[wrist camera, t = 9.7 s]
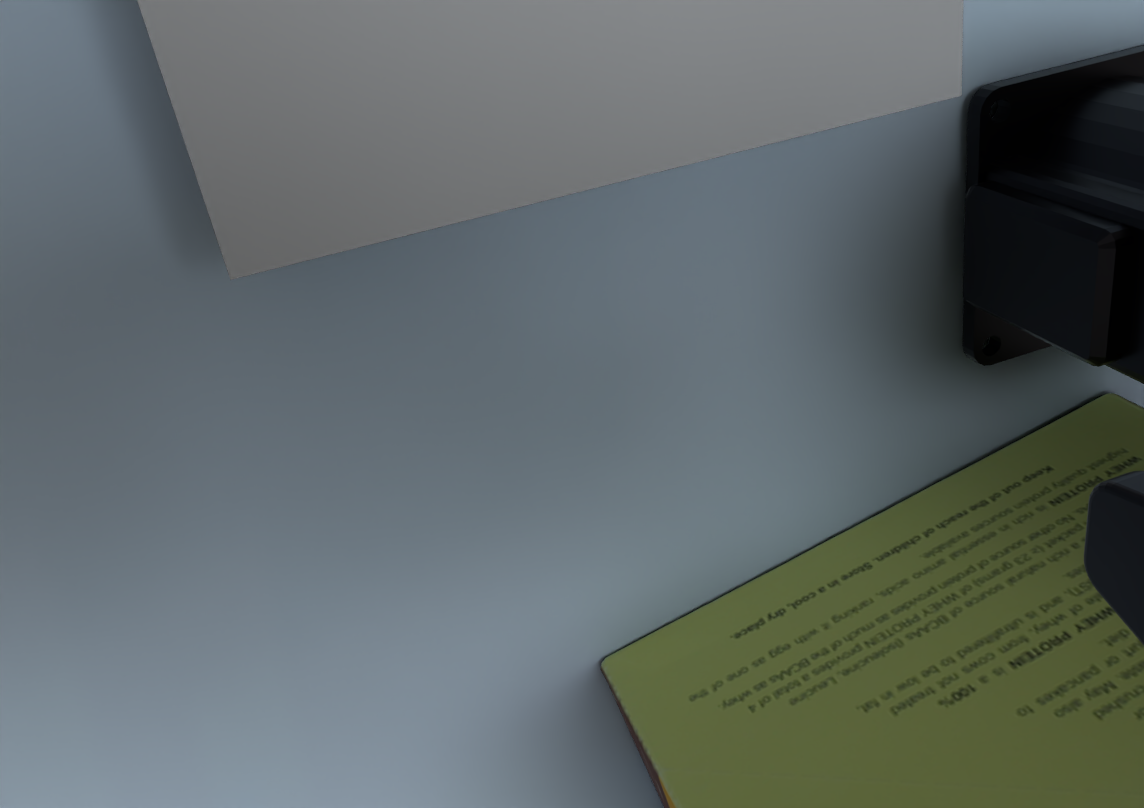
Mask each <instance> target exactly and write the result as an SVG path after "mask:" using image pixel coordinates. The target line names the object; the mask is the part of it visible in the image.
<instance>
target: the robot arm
mask: <svg viewBox="0 0 1144 808" xmlns="http://www.w3.org/2000/svg"><path fill="white" fill-rule="evenodd" d="M996 101H998V109H997V112H996V113H995V115H994V116H993V117H992V118H991V117H990V111H991V107H992V106H993V104H994V103H995V102H996ZM963 297H964V309H963V350H964V353H965V354H966V356H967V357H968V358H970V359H972V360H973V361H975V362H977V363H979V364H981V365H984V366H985V365H992V364H995V363H998V362H1002V361H1005V360H1008V359H1011V358H1014V357H1017V356H1021V355H1024V354H1027V353H1030V352H1033V351H1036V350H1040V349H1043V348H1046V347H1049V346H1052V345H1053V346H1055V347H1057V348H1059V349H1061V350H1063V351H1065V352H1067V353H1069V354H1071V355H1073V356H1075V357H1077V358H1079V359H1081V360H1083V361H1085V362H1087V363H1089V364H1091V365H1093V366H1098V367H1099V366H1102V365H1106V366H1108V367H1110V368H1113V369H1115V370H1117V371H1119V372H1121V373H1123V374H1125V375H1127V376H1129V377H1131V378H1133V379H1135V380H1137V381H1139V382H1141V383H1143V384H1144V45H1143V46H1139V47H1135V48H1131V49H1127V50H1123V51H1119V52H1115V53H1111V54H1107V55H1103V56H1099V57H1095V58H1091V59H1087V60H1083V61H1079V62H1075V63H1071V64H1067V65H1063V66H1059V67H1055V68H1051V69H1047V70H1043V71H1039V72H1035V73H1031V74H1027V75H1023V76H1019V77H1015V78H1011V79H1008V80H1004V81H1000V82H996V83H992V84H988V85H986V86H984V87H982V88H980V89H979V90H978V91H977V92H976V93H975V94H974V96H973V98H972V100H971V102H970V104H969V109H968V127H967V172H966V198H965V228H964V274H963ZM989 337H990V339H989V343H988V344H987V345H986V346H985V347H984V348H983V344H984V343H985V341H986V340H987V339H988V338H989ZM982 348H983V349H982ZM1084 566H1085V570H1086V573H1087V575H1088V578H1089V579H1090V581H1091V583H1092V585H1093V586H1094V587H1095V589H1096V590H1097V591H1098V592H1099V594H1100V595H1101V596H1102V597H1103V598H1104V600H1105V601H1106V602H1107V603H1108V604H1109V605H1110V607H1111V608H1112V609H1113V610H1114V611H1115V612H1116V614H1117V615H1118V616H1119V617H1120V618H1121V619H1122V621H1123V622H1124V623H1125V624H1126V625H1127V627H1128V628H1129V629H1130V630H1131V631H1132V632H1133V634H1134V635H1135V636H1136V637H1137V638H1138V639H1139V641H1140V642H1141V643H1142V644H1143V645H1144V471H1132V472H1128V473H1125V474H1123V475H1120V476H1117V477H1114V478H1111V479H1108V480H1106V481H1103V482H1101V483H1099V484H1098V485H1096V486H1095V487H1094V489H1093V490H1092V492H1091V494H1090V497H1089V502H1088V513H1087V524H1086V535H1085V546H1084Z"/></svg>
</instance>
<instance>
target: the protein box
mask: <svg viewBox="0 0 1144 808" xmlns="http://www.w3.org/2000/svg"><path fill="white" fill-rule="evenodd" d="M1132 471H1144V408H1143V407H1141V406H1139V405H1137V404H1135V403H1132V402H1130V401H1128V400H1126V399H1125V398H1123V397H1121V396H1119V395H1116V394H1114V393H1108V394H1105V395H1103V396H1101V397H1099V398H1097V399H1096V400H1094V401H1092V402H1090V403H1088V404H1086V405H1084V406H1082V407H1081V408H1079V409H1077V410H1075V411H1073V412H1071V413H1069V414H1068V415H1066V416H1064V417H1062V418H1060V419H1058V420H1056V421H1055V422H1053V423H1051V424H1049V425H1047V426H1045V427H1043V428H1041V429H1039V430H1037V431H1036V432H1034V433H1032V434H1030V435H1028V436H1026V437H1024V438H1022V439H1020V440H1018V441H1016V442H1014V443H1012V444H1010V445H1009V446H1007V447H1005V448H1003V449H1001V450H999V451H998V452H996V453H994V454H992V455H990V456H988V457H986V458H984V459H982V460H980V461H978V462H977V463H975V464H973V465H971V466H969V467H967V468H965V469H963V470H961V471H959V472H957V473H955V474H954V475H952V476H950V477H948V478H946V479H944V480H942V481H940V482H938V483H936V484H934V485H933V486H931V487H929V488H927V489H925V490H923V491H921V492H919V493H917V494H916V495H914V496H912V497H910V498H908V499H906V500H904V501H902V502H900V503H899V504H897V505H895V506H893V507H891V508H889V509H887V510H886V511H884V512H882V513H880V514H878V515H876V516H874V517H872V518H870V519H868V520H866V521H864V522H862V523H860V524H858V525H856V526H855V527H853V528H851V529H849V530H847V531H845V532H843V533H841V534H839V535H837V536H836V537H834V538H832V539H830V540H828V541H826V542H824V543H822V544H820V545H818V546H816V547H815V548H813V549H811V550H809V551H807V552H805V553H804V554H802V555H800V556H798V557H796V558H794V559H792V560H791V561H789V562H787V563H785V564H783V565H781V566H779V567H777V568H775V569H773V570H772V571H770V572H768V573H766V574H764V575H762V576H760V577H758V578H756V579H754V580H752V581H750V582H749V583H747V584H745V585H743V586H741V587H739V588H737V589H735V590H733V591H732V592H730V593H728V594H726V595H724V596H722V597H720V598H718V599H717V600H715V601H713V602H711V603H709V604H707V605H705V606H703V607H701V608H699V609H697V610H695V611H694V612H692V613H690V614H688V615H686V616H684V617H682V618H680V619H678V620H676V621H674V622H672V623H670V624H668V625H667V626H665V627H663V628H661V629H659V630H657V631H655V632H653V633H651V634H650V635H648V636H646V637H644V638H642V639H640V640H638V641H636V642H635V643H633V644H631V645H629V646H627V647H625V648H623V649H621V650H619V651H617V652H616V653H614V654H612V655H610V656H608V657H606V658H605V659H604V661H603V662H602V664H601V671H602V673H603V675H604V677H605V679H606V680H607V682H608V684H609V687H610V689H611V691H612V693H613V696H614V698H615V700H616V702H617V705H618V707H619V709H620V711H621V713H622V715H623V718H624V720H625V722H626V724H627V727H628V729H629V731H630V733H631V736H632V738H633V740H634V742H635V745H636V747H637V749H638V751H639V753H640V755H641V758H642V760H643V762H644V764H645V766H646V768H647V771H648V773H649V775H650V777H651V779H652V782H653V784H654V786H655V788H656V791H657V793H658V795H659V797H660V800H661V802H662V804H663V806H664V808H1144V645H1143V644H1142V643H1141V642H1140V641H1139V639H1138V638H1137V637H1136V636H1135V635H1134V634H1133V632H1132V631H1131V630H1130V629H1129V628H1128V627H1127V625H1126V624H1125V623H1124V622H1123V621H1122V619H1121V618H1120V617H1119V616H1118V615H1117V614H1116V612H1115V611H1114V610H1113V609H1112V608H1111V607H1110V605H1109V604H1108V603H1107V602H1106V601H1105V600H1104V598H1103V597H1102V596H1101V595H1100V594H1099V592H1098V591H1097V590H1096V589H1095V587H1094V586H1093V585H1092V583H1091V581H1090V579H1089V578H1088V575H1087V573H1086V570H1085V566H1084V546H1085V535H1086V524H1087V513H1088V502H1089V497H1090V494H1091V492H1092V490H1093V489H1094V487H1095V486H1096V485H1098V484H1099V483H1101V482H1103V481H1106V480H1108V479H1111V478H1114V477H1117V476H1120V475H1123V474H1125V473H1128V472H1132Z"/></svg>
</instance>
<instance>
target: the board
mask: <svg viewBox="0 0 1144 808" xmlns="http://www.w3.org/2000/svg"><path fill="white" fill-rule="evenodd" d="M137 1H138V4H139V7H140V10H141V13H142V16H143V19H144V22H145V25H146V28H147V31H148V34H149V37H150V40H151V43H152V46H153V49H154V52H155V55H156V58H157V61H158V64H159V67H160V70H161V73H162V76H163V79H164V82H165V85H166V88H167V91H168V94H169V97H170V100H171V103H172V106H173V109H174V112H175V115H176V118H177V121H178V124H179V127H180V130H181V133H182V136H183V139H184V142H185V145H186V148H187V151H188V154H189V157H190V160H191V163H192V166H193V169H194V172H195V175H196V178H197V181H198V184H199V187H200V190H201V193H202V196H203V199H204V202H205V205H206V208H207V211H208V214H209V217H210V220H211V223H212V226H213V229H214V232H215V235H216V238H217V241H218V244H219V247H220V250H221V253H222V256H223V259H224V262H225V265H226V268H227V271H228V274H229V277H230V280H232V279H236V278H240V277H244V276H248V275H252V274H256V273H260V272H264V271H268V270H272V269H276V268H280V267H284V266H288V265H292V264H296V263H300V262H304V261H308V260H312V259H316V258H320V257H324V256H328V255H332V254H336V253H340V252H344V251H348V250H351V249H355V248H359V247H363V246H367V245H371V244H375V243H379V242H383V241H387V240H391V239H395V238H399V237H403V236H407V235H411V234H415V233H419V232H423V231H427V230H431V229H435V228H439V227H443V226H447V225H451V224H455V223H459V222H463V221H467V220H471V219H475V218H479V217H483V216H487V215H491V214H494V213H498V212H502V211H506V210H510V209H514V208H518V207H522V206H526V205H530V204H534V203H538V202H542V201H546V200H550V199H554V198H558V197H562V196H566V195H570V194H574V193H578V192H582V191H586V190H590V189H594V188H598V187H602V186H606V185H610V184H614V183H618V182H622V181H626V180H630V179H634V178H637V177H641V176H645V175H649V174H653V173H657V172H661V171H665V170H669V169H673V168H677V167H681V166H685V165H689V164H693V163H697V162H701V161H705V160H709V159H713V158H717V157H721V156H725V155H729V154H733V153H737V152H741V151H745V150H749V149H753V148H757V147H761V146H765V145H769V144H773V143H777V142H780V141H784V140H788V139H792V138H796V137H800V136H804V135H808V134H812V133H816V132H820V131H824V130H828V129H832V128H836V127H840V126H844V125H848V124H852V123H856V122H860V121H864V120H868V119H872V118H876V117H880V116H884V115H888V114H892V113H896V112H900V111H904V110H908V109H912V108H916V107H920V106H923V105H927V104H931V103H935V102H939V101H943V100H947V99H951V98H955V97H959V96H961V95H962V42H963V0H137Z"/></svg>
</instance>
